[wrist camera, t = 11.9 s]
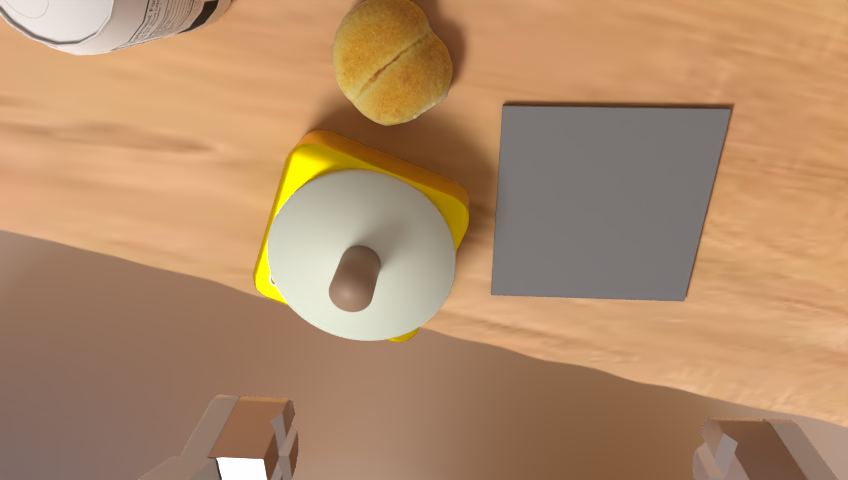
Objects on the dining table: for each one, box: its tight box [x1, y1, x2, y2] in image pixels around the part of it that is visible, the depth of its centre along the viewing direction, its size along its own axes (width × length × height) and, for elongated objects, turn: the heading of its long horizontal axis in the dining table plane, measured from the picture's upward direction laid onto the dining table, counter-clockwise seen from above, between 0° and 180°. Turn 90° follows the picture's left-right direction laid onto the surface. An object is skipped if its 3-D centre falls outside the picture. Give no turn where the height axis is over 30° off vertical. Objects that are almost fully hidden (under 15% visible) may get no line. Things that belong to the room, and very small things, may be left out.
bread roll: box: [333, 0, 453, 126], centre depth 41 cm, size 8×9×4 cm
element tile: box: [253, 130, 469, 342], centre depth 47 cm, size 15×15×5 cm
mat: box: [491, 105, 731, 301], centre depth 46 cm, size 17×17×1 cm
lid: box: [267, 169, 456, 341], centre depth 42 cm, size 15×15×6 cm
